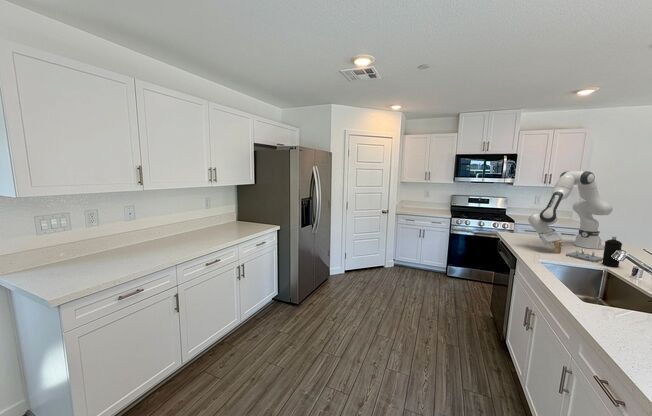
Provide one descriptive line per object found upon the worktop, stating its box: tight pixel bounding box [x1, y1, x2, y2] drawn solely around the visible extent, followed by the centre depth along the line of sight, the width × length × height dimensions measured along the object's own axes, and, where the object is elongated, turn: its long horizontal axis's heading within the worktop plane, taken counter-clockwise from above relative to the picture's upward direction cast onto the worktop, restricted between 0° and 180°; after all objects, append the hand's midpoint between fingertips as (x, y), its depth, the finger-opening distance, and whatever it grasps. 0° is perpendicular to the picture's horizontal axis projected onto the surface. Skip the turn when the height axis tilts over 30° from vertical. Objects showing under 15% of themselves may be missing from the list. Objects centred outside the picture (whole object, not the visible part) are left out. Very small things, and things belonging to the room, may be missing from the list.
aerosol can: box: [601, 236, 623, 268], centre depth 180 cm, size 8×8×20 cm
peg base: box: [565, 248, 603, 263], centre depth 197 cm, size 14×17×5 cm
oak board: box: [552, 241, 563, 255], centre depth 209 cm, size 5×3×9 cm, turn 114°
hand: (558, 246), depth 209 cm, fingers open, 8 cm apart
